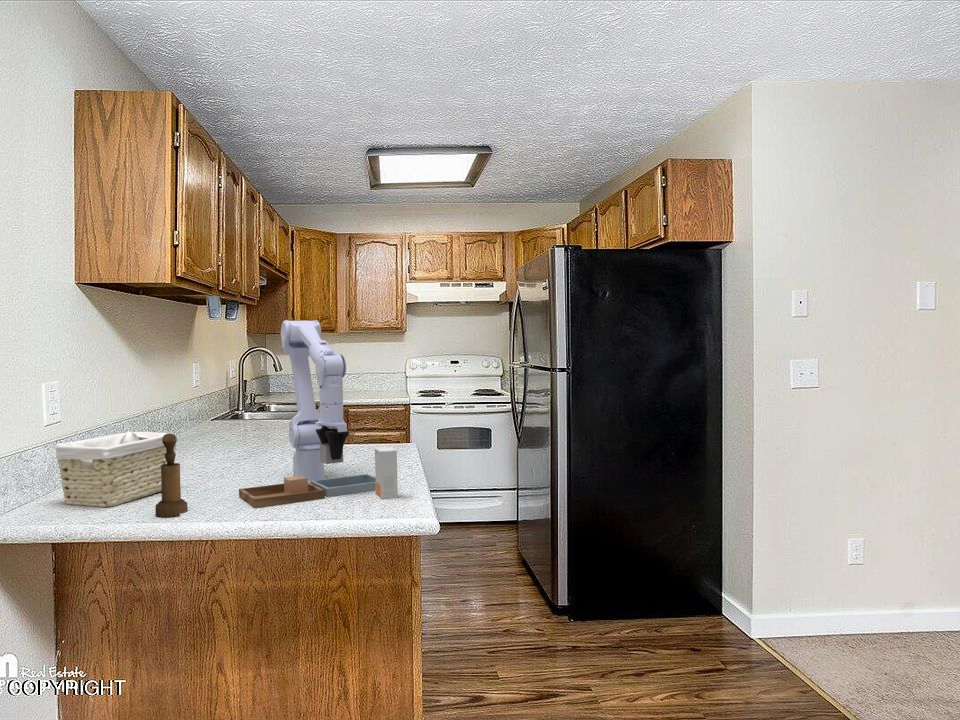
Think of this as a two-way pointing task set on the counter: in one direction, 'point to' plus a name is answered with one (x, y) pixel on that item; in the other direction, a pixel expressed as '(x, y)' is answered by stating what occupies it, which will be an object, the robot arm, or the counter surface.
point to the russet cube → (295, 484)
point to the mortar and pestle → (170, 483)
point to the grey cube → (328, 455)
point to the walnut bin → (278, 495)
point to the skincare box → (386, 472)
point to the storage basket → (111, 468)
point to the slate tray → (346, 485)
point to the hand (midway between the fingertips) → (332, 457)
